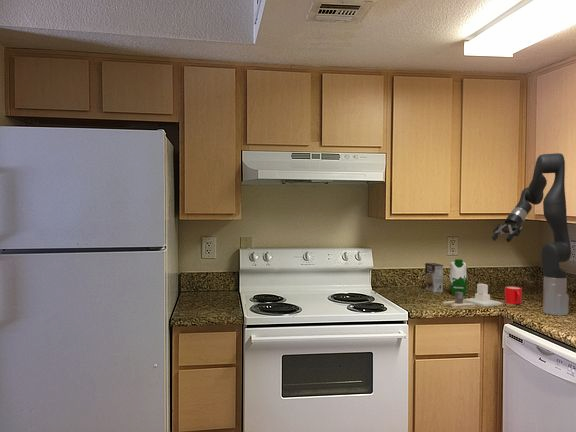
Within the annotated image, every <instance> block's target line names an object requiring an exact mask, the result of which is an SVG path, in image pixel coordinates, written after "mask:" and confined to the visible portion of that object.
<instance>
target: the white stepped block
mask: <svg viewBox="0 0 576 432" xmlns="http://www.w3.org/2000/svg"><path fill="white" fill-rule="evenodd" d="M476 287H477V288H476V289H477V290H476V291H477V292H476V293H474V298H475V300H476V301H480V302H488V301H490V300H491V294H489V293H488V291H489V285H488V284H485V283H477V285H476Z"/></svg>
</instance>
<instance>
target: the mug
mask: <svg viewBox="0 0 576 432" xmlns="http://www.w3.org/2000/svg"><path fill="white" fill-rule="evenodd" d="M522 299H523V288H522V287H519V286H514V285H513V286H512V285H511V286H510V285H508V286H507V285H506V286H504V303H506V304H509V305H522V303H523V301H522Z"/></svg>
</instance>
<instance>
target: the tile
mask: <svg viewBox="0 0 576 432" xmlns="http://www.w3.org/2000/svg"><path fill="white" fill-rule="evenodd" d="M463 301H465V302H468V303H472V304H476V305H477V306H481V307H492V306H493V307H494V306H501V305H503V302H502V301H498V300H493V299H490V301H488V302H480V301H476V300H475V297H472V298H471V297H470V298H463Z"/></svg>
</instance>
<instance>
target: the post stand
mask: <svg viewBox="0 0 576 432" xmlns="http://www.w3.org/2000/svg"><path fill="white" fill-rule="evenodd" d="M463 299H464V295H463V292H455V295H454V300H450V301H449V300H448V301H442V305H444V306H448V307H450V308H454V309H458V310H460V309H461V310H462V309H470V308H475V307H477V306H476V305H477V304H473V303H469V302H465V301H463Z"/></svg>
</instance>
